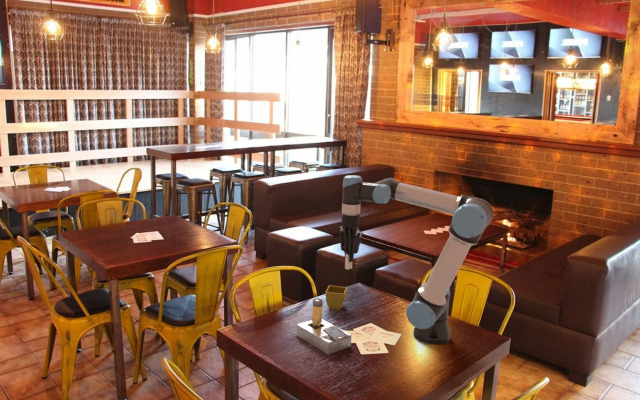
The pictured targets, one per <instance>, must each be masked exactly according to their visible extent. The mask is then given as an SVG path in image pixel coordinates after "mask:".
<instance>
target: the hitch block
mask: <svg viewBox="0 0 640 400" xmlns="http://www.w3.org/2000/svg"><path fill="white" fill-rule="evenodd" d="M331 326H334V324H333V323H330V322H328V321H326V320H325V319H323V318H322V323H321V328H318V329H314V328H312V319H310V320H308V321H304V322H301V323H298V324H296V337H298V338H300V339H302V340H303V341H305V342H307V343H308V344H310V345H311V346H313V347H315V348H316V349H318V350H319V351H321V352H323V353H324V354H326V355H331V354H333V353H337V352H339V351H342V350H345V349H348V348H351V346H352V337H353V336H352V334H351V333H349V332H347V331H346V330H344V329H342V328H340V327H338V328H339V329H340V330H342V331H343V332H344V333H345V334H348V335H349V338H347V339H344V340H341V341H338V342H334V340H333V339H332V338H331V337H330V336H328V335H327V334H326V333H325V332H324V331H323V329H325V328H328V327H331Z"/></svg>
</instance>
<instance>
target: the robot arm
mask: <svg viewBox="0 0 640 400" xmlns="http://www.w3.org/2000/svg"><path fill="white" fill-rule="evenodd" d="M390 199H391V200H395V201H399V202H403V203H407V204H410V205H413V206H417V207H422V208H426V209H429V210H433V211H437V212H441V213H445V214H449V215H452V219H451V223H450V225H449V228H448V230H447V231H448V233H449V237H448V238H447V240H446V243H445V244H444V246H443V247H442V248H443V249H442V250H441V252H440V254H439V255H438V258H437V261H436V262H435V264H434V267H433V268H432V270H431V272H430V274H429V276H428V278H427V280H426V282H424V283H422V284H421V286H419V288H418V289H417V291H416V293H415V295H414V298H413V299H412V301H411V302H409V304H408V305H407V307H406V310H405V316H406V318H407V320H408V322H409V323H410V325H411V326H413V327H414V328H413V334H412V335H413V337H414V339H416V340H417V341H418V342H420V343H424V344H426V345H432V346H433V345H434V346H435V345H445V344H447V343H449V341H450V340H451V332H450V328H449V323H448V317H449V306H450V305H449V304H450V297H451V289H450V287H451V285H452V284H453V281H454V279H455V277H456V276H457V274H458V272H459V270H460V268H461V266H462V264H463V263H464V260H465V259H466V257H467V255H468V253H469V251H470V249H471V247H472V246H476V245H478V243H479V241H480V239H481V238H482V235H483V234H484V231H485V230H486V229H487V227H488V226H490V225H491V223H492V221H493V219H494V210H493V207H492V205H491V204H490V203H489V201H487V200H485V199H483V198H480V197H479V198H478V197H475V196H471V195H466V194H462V195H460V196H458V195H456V194H455V195H453V194H450V193H447V192H441V191H438V190H434V189H430V188H425V187H421V186H417V185H413V184H409V183H404V182H400V181H397V180H396V179H395V178H393V177H387V178H384V179H382V180H379V181H376V182H364V181H363V178H362V176H360V175H355V174H353V175H352V174H351V175H345V176H344V177H343V180H342V202H341V212H342V213H341V223H342V224H341V226H338V227H337V231H338V236H339V237H338V238H339V243H340V250H341V252H344V263H345V264H344V269H345V270H347V271H348V270H351V269H353V262H354V256H355V254H358V253H359V248H360V244H361V241H362V237H363V236H364V232H363V231H362V232H361V230H360V227H359V224H360V222H361V221H360V220H361V214H360V213H361V205H362V203H361V202H370V203H376V204H378V205H379V204H387V203H388V202H389V201H390Z"/></svg>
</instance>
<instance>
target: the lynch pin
mask: <svg viewBox="0 0 640 400" xmlns="http://www.w3.org/2000/svg"><path fill="white" fill-rule="evenodd" d="M323 304H324V300H323V298H319V297H318V298H317V297H315V298H313V299H312V311H311V320H312V328H314V329H318V328H321V323H322V319H323Z"/></svg>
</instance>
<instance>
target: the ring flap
mask: <svg viewBox="0 0 640 400" xmlns="http://www.w3.org/2000/svg"><path fill="white" fill-rule="evenodd" d="M333 325H334V324H333ZM339 328H340V327H338V326H337V325H334V326H331V327H328V328H325V329H323V331H324V332H325V333H326V334H327V335H328V336H330V337H331V338H332V339H333V340H334V342H338V341H341V340H344V339H347V338H349V335H348V334H345V333H344V332H343V331H344V330H343V329H342V330H343V331H342V330H340V329H341V328H340V329H339Z"/></svg>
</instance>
